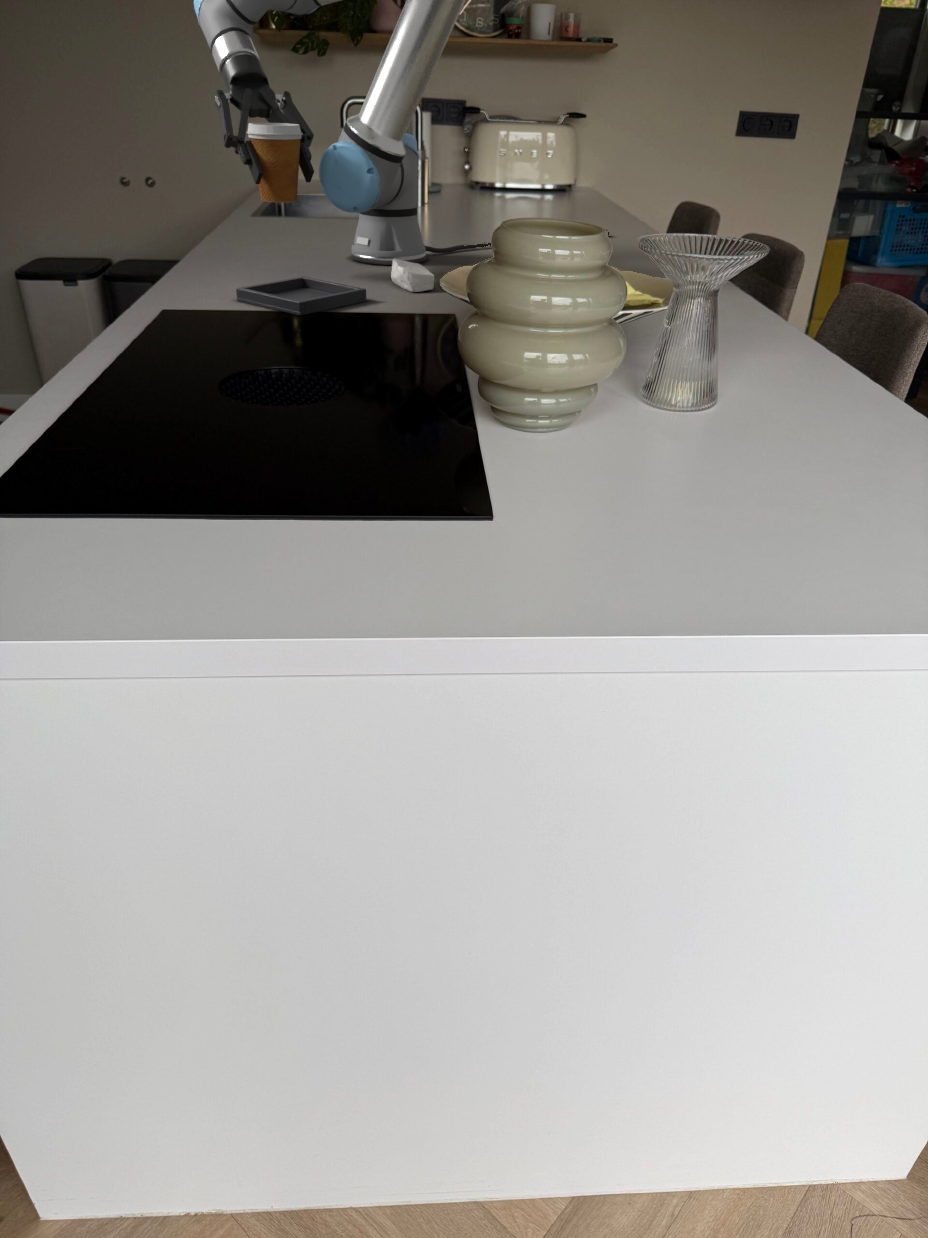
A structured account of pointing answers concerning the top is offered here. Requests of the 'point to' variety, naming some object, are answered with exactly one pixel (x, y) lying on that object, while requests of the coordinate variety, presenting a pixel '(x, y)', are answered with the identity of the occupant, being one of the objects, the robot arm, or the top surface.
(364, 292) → the pad
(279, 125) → the disposable coffee cup
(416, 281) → the white rock
